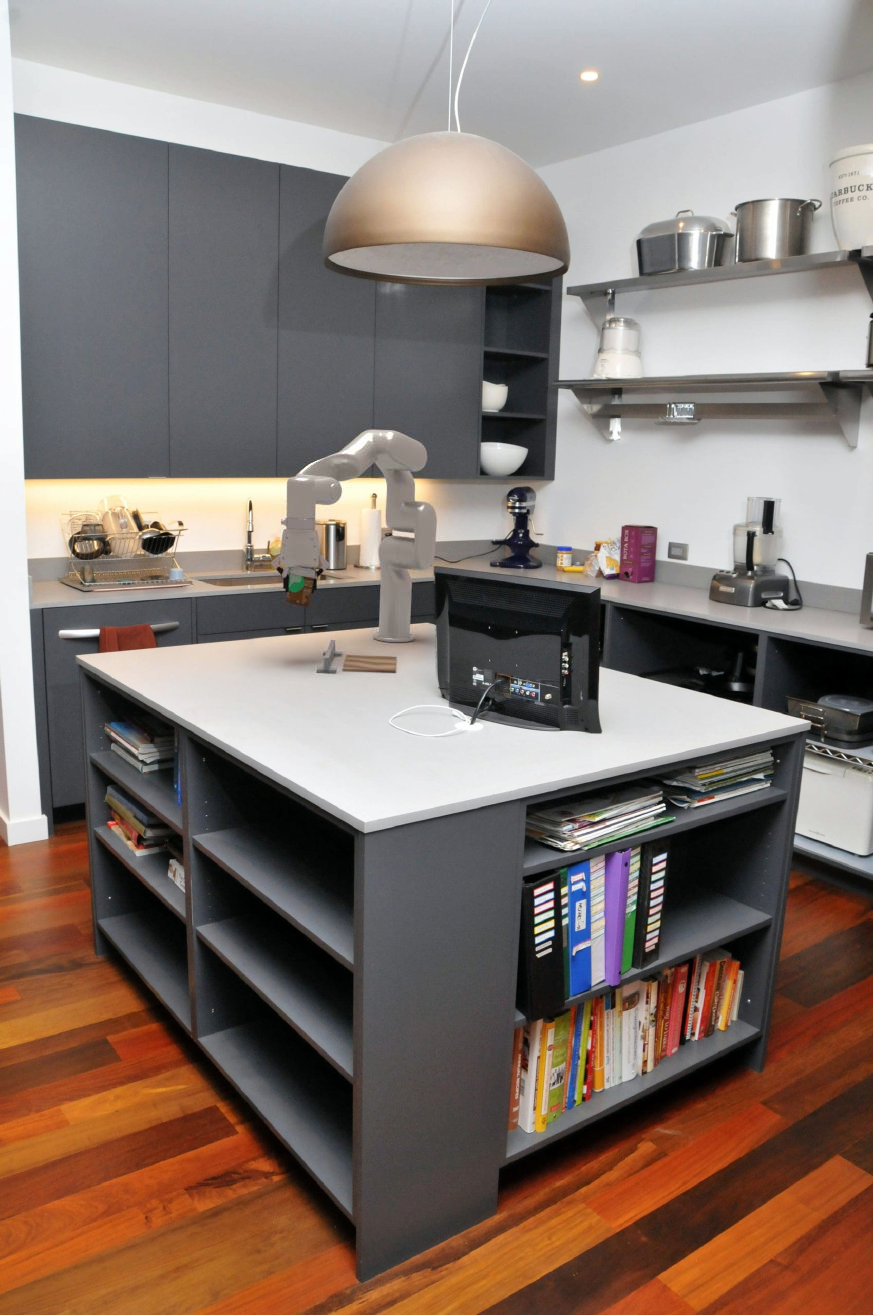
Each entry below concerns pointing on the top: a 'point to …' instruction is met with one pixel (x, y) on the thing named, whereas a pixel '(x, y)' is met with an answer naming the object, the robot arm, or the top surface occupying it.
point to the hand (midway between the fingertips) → (299, 591)
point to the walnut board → (370, 663)
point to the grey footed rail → (329, 659)
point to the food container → (300, 585)
